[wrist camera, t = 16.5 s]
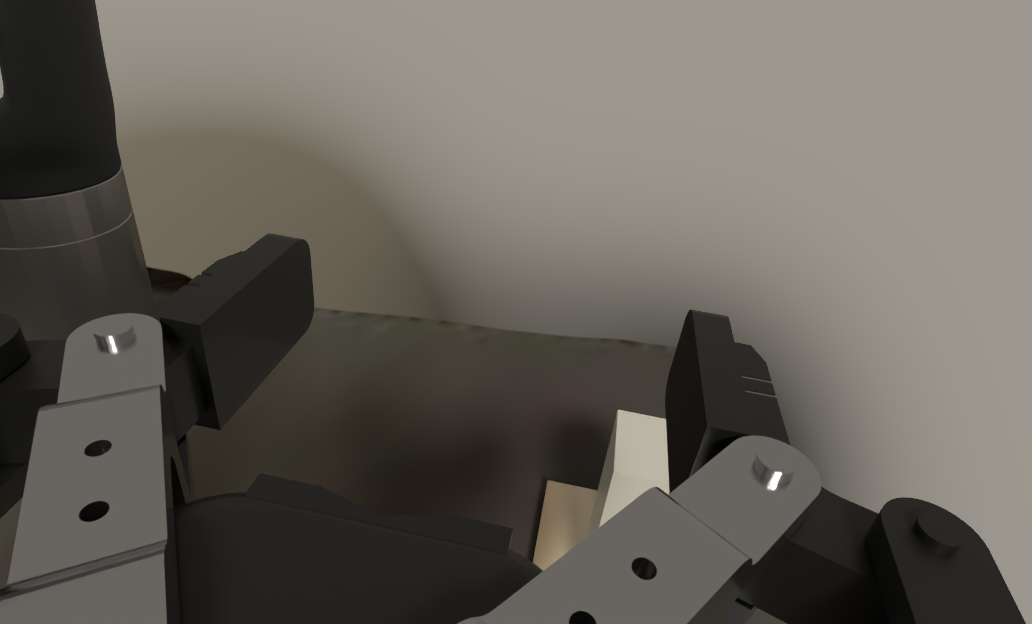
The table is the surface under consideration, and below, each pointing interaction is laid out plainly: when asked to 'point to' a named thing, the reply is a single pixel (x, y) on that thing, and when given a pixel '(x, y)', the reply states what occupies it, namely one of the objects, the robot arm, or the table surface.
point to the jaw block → (631, 465)
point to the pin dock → (562, 521)
